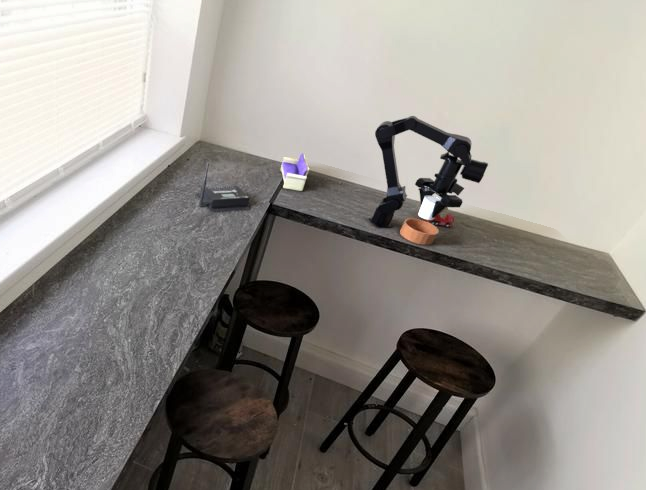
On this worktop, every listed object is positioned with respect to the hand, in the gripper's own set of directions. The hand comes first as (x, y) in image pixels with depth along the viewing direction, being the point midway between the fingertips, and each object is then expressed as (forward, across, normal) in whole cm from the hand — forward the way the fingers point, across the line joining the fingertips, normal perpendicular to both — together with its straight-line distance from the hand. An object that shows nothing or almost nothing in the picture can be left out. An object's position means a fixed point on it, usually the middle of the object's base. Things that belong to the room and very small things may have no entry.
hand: (427, 213), depth 182 cm
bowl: (+10, 0, 0) cm, 10 cm away
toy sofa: (+10, +48, +31) cm, 58 cm away
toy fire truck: (+10, +10, -16) cm, 21 cm away
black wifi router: (+10, +26, +72) cm, 78 cm away
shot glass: (+2, 0, 0) cm, 2 cm away
